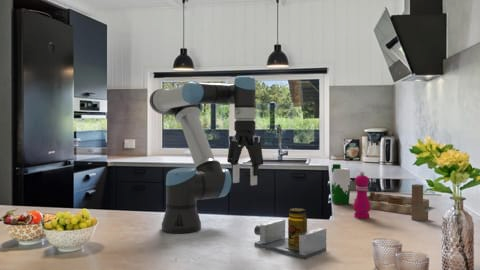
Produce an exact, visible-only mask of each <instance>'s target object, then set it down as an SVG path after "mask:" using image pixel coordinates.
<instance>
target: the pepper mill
mask: <svg viewBox="0 0 480 270" xmlns="http://www.w3.org/2000/svg"><path fill="white" fill-rule="evenodd" d="M354 183H355V185H356V186H355V189H356V196H355V197H356V198H355V199H356V200H355V202H353V205H352V208H353V210H354V211H355V212H354V214H353V215H354V216H353V217H354V218H356V219H362V220H364V219H369V218H370V213H369V212H370V211H371V210H372V209H371V207H370V203H369V200H368V198H367V196H368V190H369V184H370V178H369V177H368V176H367V175H365V172H364V171H360V172H359V175H357V176H356V177H355V179H354Z"/></svg>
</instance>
